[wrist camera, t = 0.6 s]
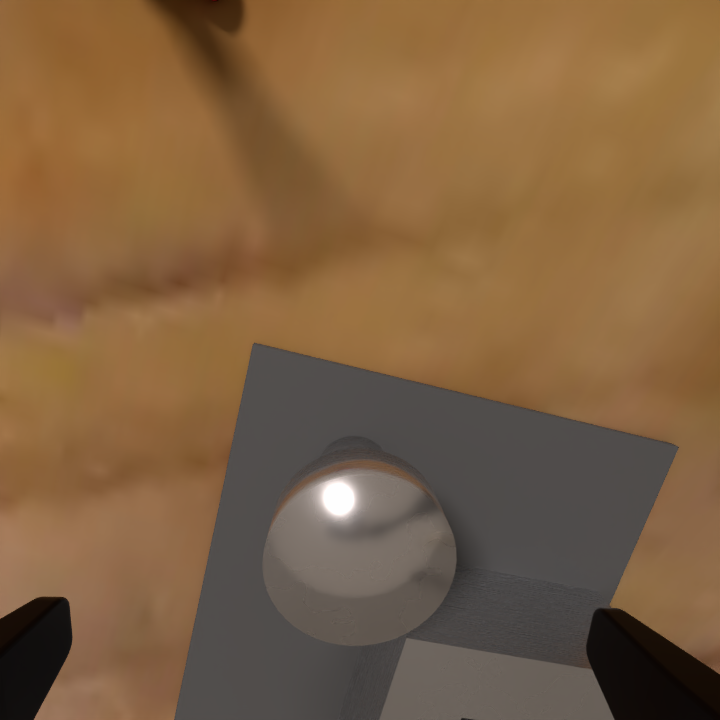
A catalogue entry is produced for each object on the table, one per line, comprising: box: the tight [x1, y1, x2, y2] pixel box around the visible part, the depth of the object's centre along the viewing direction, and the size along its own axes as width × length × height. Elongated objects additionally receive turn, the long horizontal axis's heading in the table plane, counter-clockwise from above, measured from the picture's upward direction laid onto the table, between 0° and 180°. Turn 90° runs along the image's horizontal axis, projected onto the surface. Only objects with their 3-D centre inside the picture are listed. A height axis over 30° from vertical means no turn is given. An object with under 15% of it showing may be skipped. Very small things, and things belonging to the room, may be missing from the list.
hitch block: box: [338, 564, 614, 720], centre depth 19 cm, size 12×12×5 cm
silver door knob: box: [263, 436, 457, 646], centre depth 16 cm, size 6×6×6 cm
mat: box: [174, 343, 679, 720], centre depth 21 cm, size 22×22×1 cm
